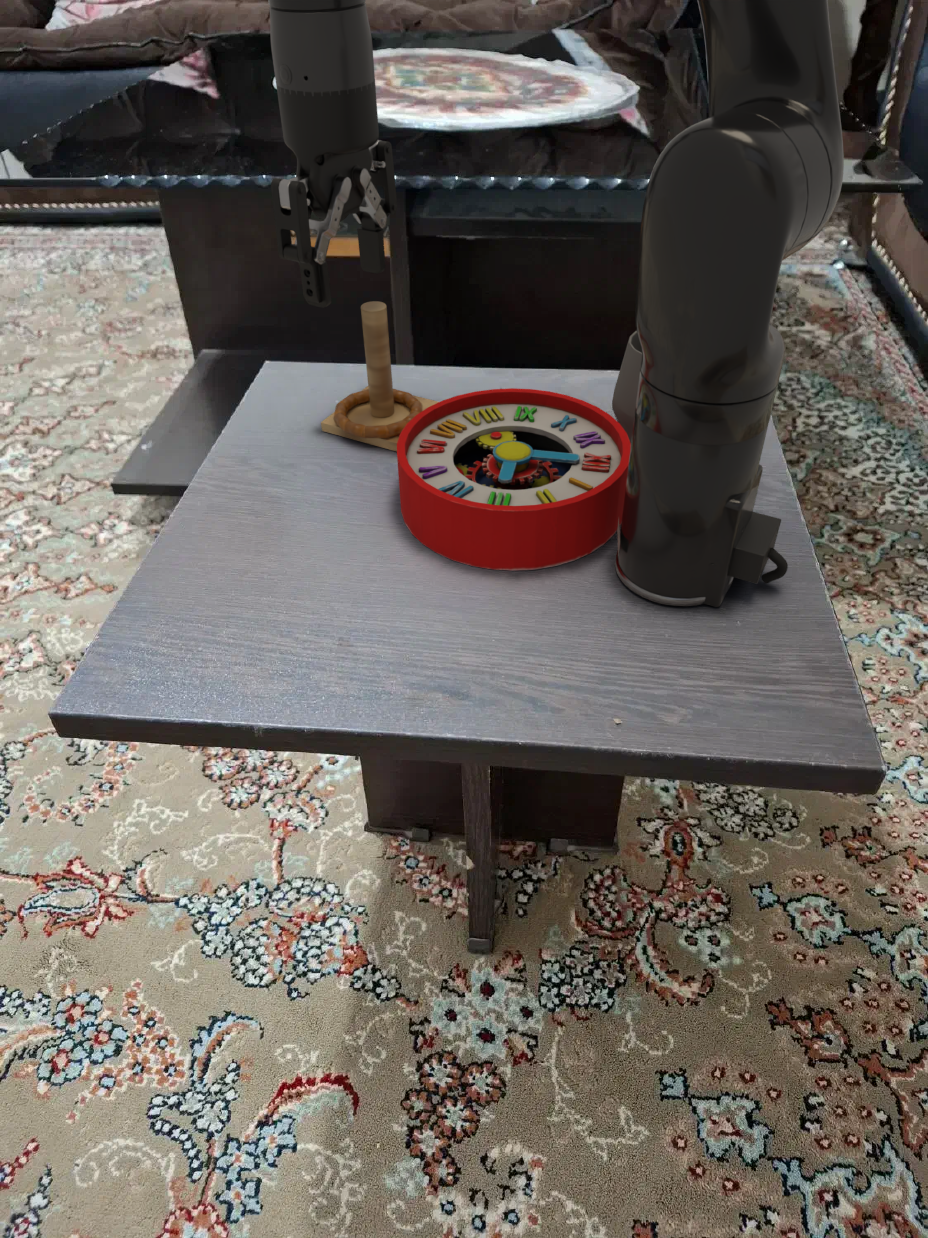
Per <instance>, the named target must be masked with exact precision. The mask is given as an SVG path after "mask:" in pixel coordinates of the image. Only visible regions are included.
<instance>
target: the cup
mask: <svg viewBox="0 0 928 1238" xmlns="http://www.w3.org/2000/svg"><path fill="white" fill-rule="evenodd" d="M641 361H642V347H641V343H640V340H639V337H638V333H637V330H635V331H634V332H633V333H632V334H631V335H630V336H629V338H628V341H627V344H626V347H625V351H624V356H623V359H622V362H621V365H620V370H619V371H618V372H619V373H618V376H617V379H616V382H615V386H614V390H613V394H612V401H611V408H612V412H613V414H614V417H615V418H616V419H615V420H616V421H617V422H619V423H620V425H621V426H622V427H623V429H624V430H625V432H626V433H627V435H628V438H629V440H630V443H631V441H632V433H633V424H634V416H635V408H636V401H637V392H638V384H639V376H640V369H641Z"/></svg>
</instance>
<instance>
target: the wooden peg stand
mask: <svg viewBox="0 0 928 1238" xmlns="http://www.w3.org/2000/svg"><path fill="white" fill-rule="evenodd" d="M360 313H361V327H362V337H363V345H364V346H363V347H364V356H365V366H366V377H367V386H365V388H363V389H362V390H361V391H363V390H366V389H369V399H370V401H368V402H365V403H361V404H358V405H355V406H354V407H353V408H351V409H350V410H349V411H347V414H346V417H347V418H348V419H349V420H350V421H351V422H355V423H358V424H362V425H365V426H379V425H388V424H392V423H395V422H398V421H402V420H403V419H404V418H406V417H407V416H408V415H409V414H410V411H411V409H410V408H409V407H407V406H406V405H405V404H403V403H399V402H395V401H394V399H393V389H394V385H393V373H392V362H391V361H392V360H391V348H390V347H391V346H390V338H389V337H390V335H389V334H390V333H389V322H388V309H387V304H386V303H385V302H382V301H377V300H373V301H367V302H364V303H362V304H361V305H360ZM412 395H413V394H412ZM413 396H414V397H415V398H416V399H418V400H419V401H420V402H421V403H422V405H423V410H425V409H426V408H428V407H430V406H432V405H434V404H436V403H438V402H439V401H437V400H433V399H429V398H425V397H421V396H418V395H413ZM333 418H334V412H332V413H331V414H330V415H329V416H327V417H326V418H325V419H323V420H322V421H320V427H321V432H325V433H328V434H331V435H336V436H338V437H342V438H346V439H348V440H349V439H350V440H352V441H353V440H354V441H357V442H360V443H365V444H368V445H371V446H375V447H379V448H382V449H386V450H390V451H392V452H396V453H397V442H398V439H399V436H400V434H399V435H396V436H392V437H389V438H362V437H358V436H355V435H351V434H348V433H345V432H344V431H343V430H342V429H341V428H340V427H339V426H338V425H337V424H336V423H335V422H334V419H333Z"/></svg>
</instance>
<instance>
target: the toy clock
mask: <svg viewBox="0 0 928 1238" xmlns="http://www.w3.org/2000/svg"><path fill="white" fill-rule="evenodd" d="M630 449H631V443H630V440H629V438H628V435H627V433H626V432H625V430H624V429H623V427H622V426H621V425H620V423H619V422H618V421H617V419H615V418H614V417H613V416H612V415H611V414H610V413H607V412H606V411H605V410H603V409H601V408H600V407H598V406H597V405H594V404H592V403H589V402H587V401H585V400H583V399H581V398H576V397H574V396H570V395H569V394H568V395H567V394H563V393H558V392H554V391H550V390H541V389H534V388H517V387H516V388H515V387H513V388H491V389H484V390H476V391H472V392H471V391H470V392H466V393H463V394H458V395H455V396H452V397H448V398H445V399H443V400H440V401H438V403H436V404H434V405H432V406H430V407H428V408H426V409H425V410H423V411H422V412H420V413H419V414H417V415H416V416H415V417H414V418H413V419H412V420H410V421H409V422H408V423H407V424H406V426H405V427H404V429H403V430H402V432H401V433H400V436H399V439H398V442H397V452H396V459H397V462H396V463H397V473H398V474H397V475H398V487H399V488H398V489H399V501H400V512H401V515H402V519H403V522H404V524H405V526H406V527H407V529H408V530H409V532H410V533H411V534H412V536H414V538H416V540H418V541H419V542H420V543H421V544H422V545H424V546H425V547H426V548H428V549H429V550H431V551H433V552H434V553H435V554H438V555H440V556H442V557H444V558H446V559H449V560H452V561H454V562H457V563H461V564H464V565H468V566H471V567H477V568H481V569H482V568H483V569H488V570H495V571H496V570H497V571H513V572H514V571H532V570H533V571H534V570H541V569H546V568H553V567H557V566H562V565H565V564H568V563H571V562H574V561H576V560H579V559H581V558H583V557H585V556H588V555H590V554H593V552H595V551H596V550H598V549H599V548H601V547H602V546H604V545H605V544H606V543H607V542H608V541H609V540H610V539H612V538H613V536H614V535H615V534H616V532H617V528H618V519H619V527H621V522H622V514H623V506H624V498H625V489H626V481H627V473H628V465H629V457H630Z"/></svg>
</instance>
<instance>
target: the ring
mask: <svg viewBox="0 0 928 1238" xmlns="http://www.w3.org/2000/svg"><path fill="white" fill-rule="evenodd" d="M362 390H363V389H362ZM362 390H359V391H356V392H352V393H350V394H348V395H347V396H345V397H344V398H343V399H341V400H340V401H339V402H338V403H337V404H336V405H335V408H334V411H333V413H334V418H333V419H334V422H335V423H336V424H337V425H338V426H339V427H340V428H341V429H342V430H343V431H344V432H345V433H348V434H351V435H355V436H358V437H362V438H389V437H392V436H396V435H399V434H400V433H401V432H402V430H403V429H404V427H405V426H406V424H407V423H408V422H409V421H410V420H412V419H413V418H414V417H415V416H416V415H417V414H419V413H420V412H422V411H423V405H422V403H421V402H420V401H419V400H418V399H416V398H415V397H414V396H415V395H414V396H413V394H412V393H411V392H407V391H404V390H401V389H396V388H393V399H394V401H395V402H399V403H403V404H405V405H406V406H407V407H409V408H410V409H411V411H410V414H409V415H408V416H407V417H406V418H404V419H403V420H402V421H398V422H395V423H392V424H388V425H379V426H365V425H362V424H358V423H355V422H351V421H350V420H349V419H348V418H347V417H346V414H347V411H349V410H350V409H351V408H353V407H354V406H355V405H358V404H361V403H365V402H368V401H370V399H369V389H366V390H363V391H362Z"/></svg>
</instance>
